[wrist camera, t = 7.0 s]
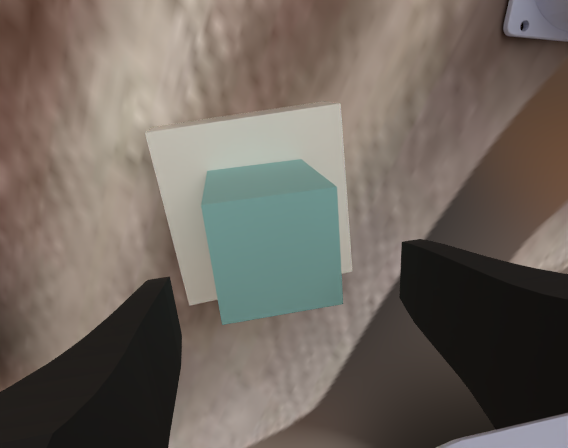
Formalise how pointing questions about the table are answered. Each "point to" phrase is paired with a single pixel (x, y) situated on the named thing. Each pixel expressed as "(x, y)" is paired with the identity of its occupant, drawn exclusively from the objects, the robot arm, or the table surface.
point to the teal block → (272, 239)
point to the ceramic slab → (236, 153)
